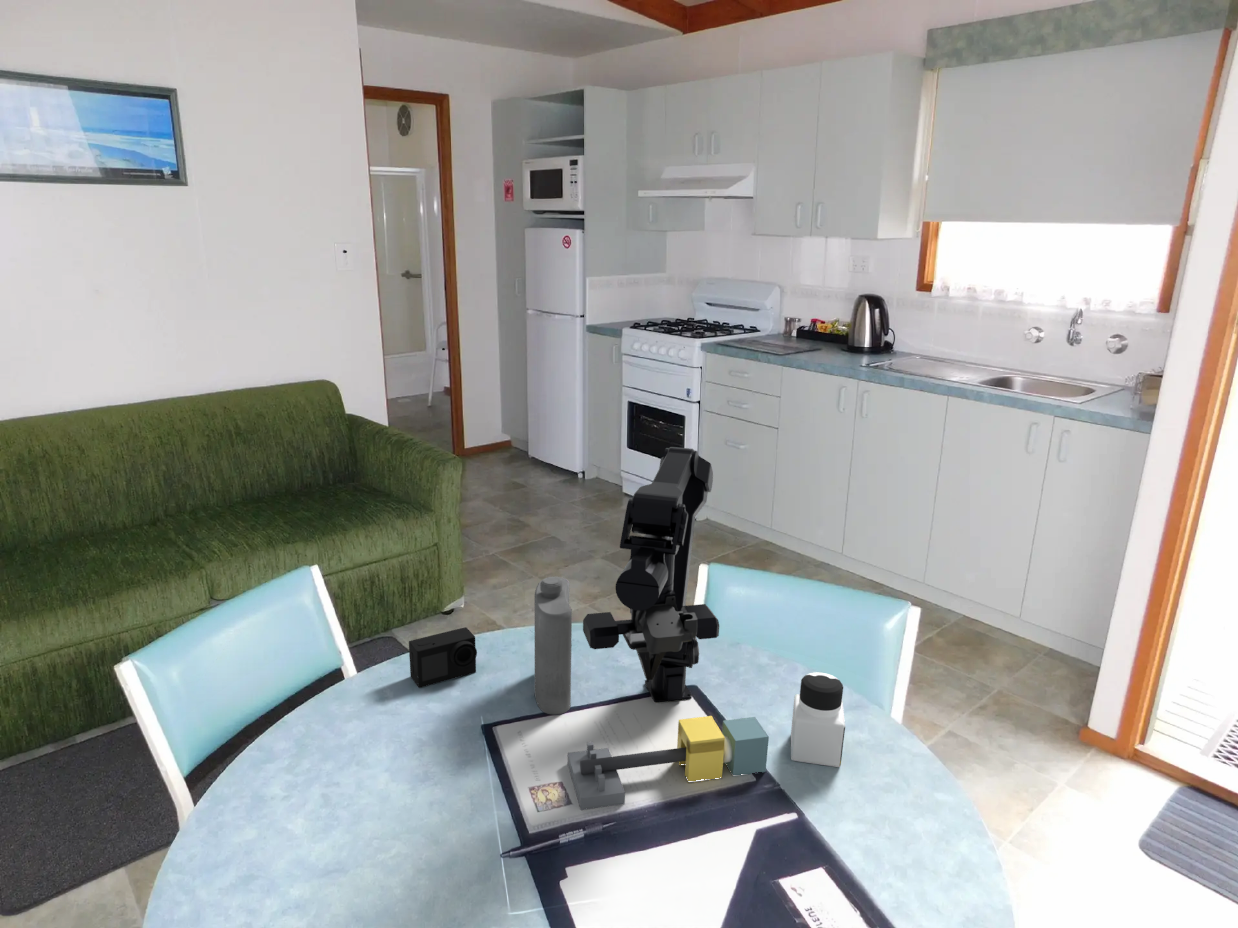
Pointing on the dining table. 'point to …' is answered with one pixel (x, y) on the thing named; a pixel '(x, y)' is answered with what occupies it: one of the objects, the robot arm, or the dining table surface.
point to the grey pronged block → (595, 780)
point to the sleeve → (701, 747)
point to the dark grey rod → (740, 751)
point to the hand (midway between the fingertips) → (648, 678)
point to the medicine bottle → (818, 721)
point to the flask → (553, 645)
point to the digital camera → (442, 657)
